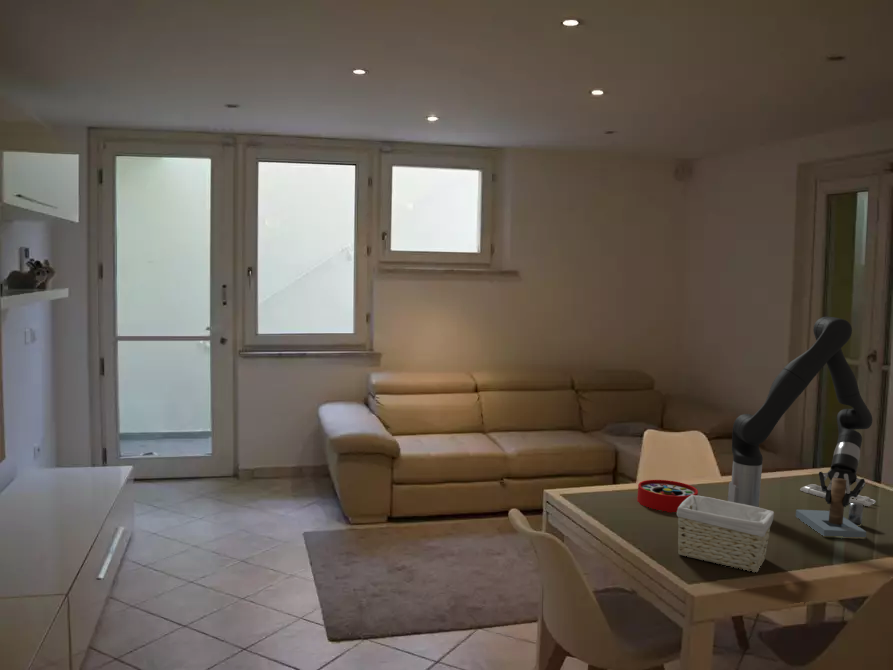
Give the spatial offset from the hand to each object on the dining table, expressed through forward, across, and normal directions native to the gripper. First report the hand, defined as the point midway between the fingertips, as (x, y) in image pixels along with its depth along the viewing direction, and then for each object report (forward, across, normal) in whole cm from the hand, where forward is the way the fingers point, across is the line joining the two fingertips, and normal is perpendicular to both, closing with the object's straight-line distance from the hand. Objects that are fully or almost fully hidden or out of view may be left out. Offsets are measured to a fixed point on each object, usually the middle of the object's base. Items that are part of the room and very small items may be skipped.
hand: (836, 503), depth 246 cm
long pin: (+3, 0, +6) cm, 7 cm away
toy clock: (+12, -52, +2) cm, 53 cm away
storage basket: (+39, -22, -26) cm, 52 cm away
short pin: (-3, +4, +17) cm, 18 cm away
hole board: (+3, -2, +10) cm, 11 cm away
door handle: (-24, -6, +39) cm, 46 cm away
